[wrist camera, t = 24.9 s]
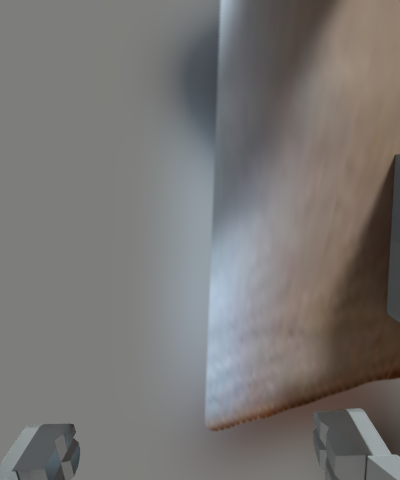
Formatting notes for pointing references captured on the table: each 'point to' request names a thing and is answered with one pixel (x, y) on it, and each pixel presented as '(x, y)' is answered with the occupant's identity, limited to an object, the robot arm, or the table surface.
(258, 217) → the table surface
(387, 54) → the table surface
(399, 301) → the stepped shelf
